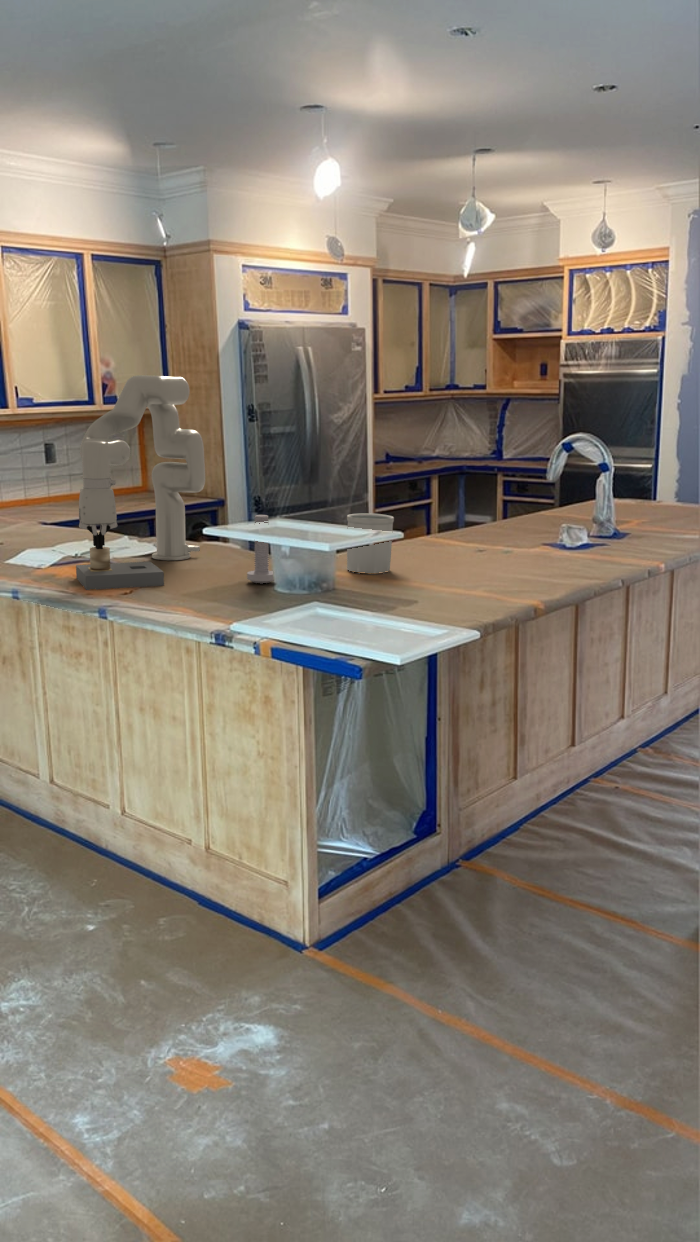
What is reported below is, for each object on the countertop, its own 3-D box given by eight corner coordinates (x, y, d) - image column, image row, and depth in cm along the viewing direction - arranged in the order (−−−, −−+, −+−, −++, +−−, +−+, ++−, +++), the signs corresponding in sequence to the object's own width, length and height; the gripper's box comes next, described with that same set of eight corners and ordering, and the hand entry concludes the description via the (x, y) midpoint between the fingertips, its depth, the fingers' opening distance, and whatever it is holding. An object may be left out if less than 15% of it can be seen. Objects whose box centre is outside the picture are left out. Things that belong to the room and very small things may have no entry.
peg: (109, 578, 296) (107, 546, 293) (112, 582, 291) (111, 549, 288) (89, 579, 293) (88, 547, 291) (92, 583, 288) (91, 550, 286)
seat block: (150, 574, 307) (149, 560, 306) (163, 585, 291) (163, 571, 290) (76, 578, 298) (75, 564, 297) (86, 590, 282) (85, 575, 281)
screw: (281, 583, 297) (282, 516, 292) (258, 586, 291) (258, 518, 287) (264, 579, 303) (264, 513, 298) (241, 582, 297) (241, 514, 293)
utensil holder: (375, 565, 330) (376, 511, 326) (401, 572, 318) (403, 517, 314) (337, 568, 322) (338, 514, 318) (362, 576, 310) (363, 520, 306)
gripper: (120, 482, 292) (122, 545, 296) (67, 483, 286) (70, 547, 290) (125, 485, 285) (127, 549, 289) (71, 486, 279) (74, 551, 283)
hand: (99, 548), depth 290 cm, fingers closed
